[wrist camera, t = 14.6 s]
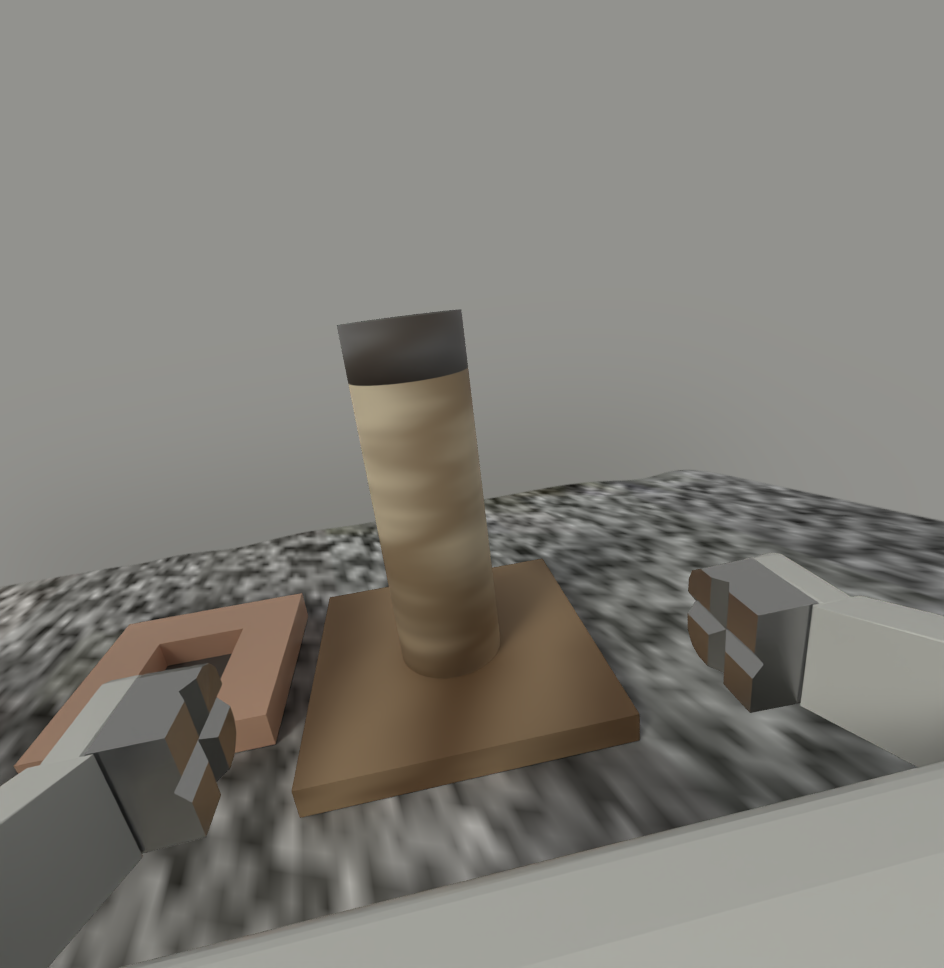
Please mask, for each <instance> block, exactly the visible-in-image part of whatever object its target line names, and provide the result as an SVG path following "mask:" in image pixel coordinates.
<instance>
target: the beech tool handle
mask: <svg viewBox="0 0 944 968" xmlns="http://www.w3.org/2000/svg"><path fill="white" fill-rule="evenodd" d="M337 329H338V334H339V339H340V343H341V349H342V354H343V359H344V364H345V369H346V374H347V378H348V384H349V389H350V394H351V399H352V404H353V409H354V414H355V419H356V424H357V429H358V434H359V439H360V444H361V449H362V454H363V459H364V464H365V469H366V474H367V479H368V484H369V489H370V494H371V499H372V504H373V509H374V514H375V519H376V524H377V529H378V534H379V539H380V544H381V549H382V554H383V559H384V564H385V570H386V575H387V580H388V585H389V590H390V595H391V600H392V605H393V610H394V615H395V620H396V625H397V630H398V635H399V640H400V645H401V650H402V655H403V659H404V661H405V663H406V665H407V666H408V667H409V668H410V669H411V670H413V671H414V672H416V673H418V674H420V675H423V676H426V677H431V678H454V677H459V676H463V675H466V674H469V673H472V672H474V671H476V670H478V669H480V668H482V667H483V666H485V665H486V664H487V663H488V662H489V661H491V660H492V659H493V657H494V656H495V655H496V653H497V651H498V649H499V647H500V632H499V624H498V615H497V607H496V599H495V590H494V582H493V573H492V565H491V556H490V548H489V540H488V531H487V523H486V514H485V506H484V498H483V489H482V481H481V472H480V464H479V456H478V447H477V439H476V431H475V422H474V413H473V405H472V397H471V389H470V380H469V371H468V363H467V355H466V347H465V338H464V329H463V321H462V313H461V310H449V311H440V312H431V313H423V314H414V315H406V316H398V317H391V318H384V319H376V320H368V321H361V322H355V323H348V324H341V325H337Z"/></svg>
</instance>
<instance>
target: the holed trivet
mask: <svg viewBox="0 0 944 968" xmlns="http://www.w3.org/2000/svg"><path fill="white" fill-rule="evenodd" d="M307 619H308V614H307V610H306V606H305V602H304V599H303V595H302V593H300V594H295V595H289V596H284V597H278V598H273V599H267V600H262V601H256V602H251V603H245V604H240V605H234V606H229V607H223V608H218V609H212V610H207V611H201V612H195V613H190V614H184V615H179V616H173V617H168V618H162V619H157V620H151V621H146V622H140V623H135V624H129V626H128V627H127V628H126V629H125V631H124V632H123V633H122V634H121V635H120V637H119V638H118V639H117V640H116V642H115V643H114V644H113V645H112V646H111V648H110V649H109V650H108V651H107V653H106V654H105V655H104V656H103V658H102V659H101V660H100V661H99V662H98V664H97V665H96V666H95V667H94V669H93V670H92V671H91V672H90V673H89V675H88V676H87V677H86V678H85V680H84V681H83V682H82V683H81V684H80V686H79V687H78V688H77V689H76V691H75V692H74V693H73V694H72V695H71V697H70V698H69V699H68V700H67V702H66V703H65V704H64V705H63V707H62V708H61V709H60V710H59V711H58V713H57V714H56V715H55V716H54V718H53V719H52V720H51V721H50V722H49V724H48V725H47V726H46V727H45V729H44V730H43V731H42V732H41V733H40V735H39V736H38V737H37V738H36V740H35V741H34V742H33V743H32V744H31V746H30V747H29V748H28V749H27V751H26V752H25V753H24V754H23V756H22V757H21V758H20V759H19V760H18V762H17V763H16V764H15V765H14V767H15V769H16V771H17V773H18V774H19V773H21V772H22V771H23V770H25V769H26V768H29V767H34V766H38V765H40V764H41V763H42V761H43V760H44V759H45V758H46V756H47V755H48V754H49V752H50V751H51V750H52V748H53V747H54V746H55V745H56V743H57V742H58V741H59V739H60V738H61V737H62V736H63V734H64V733H65V732H66V730H67V729H68V728H69V726H70V725H71V724H72V723H73V721H74V720H75V719H76V717H77V716H78V715H79V713H80V712H81V711H82V710H83V708H84V707H85V706H86V704H87V703H88V702H89V701H90V699H91V698H92V697H93V695H94V694H95V693H96V691H97V690H98V689H99V688H100V686H101V685H102V684H105V683H107V682H109V681H111V680H116V679H121V678H126V677H131V676H136V675H144V674H148V673H154V672H159V671H165V670H171V669H177V668H183V667H188V666H194V665H200V664H206V663H209V664H211V665H213V666H215V667H216V669H217V672H218V674H219V677H220V679H221V682H222V686H221V688H220V691H219V693H218V695H217V698H219V699H220V700H222V701H223V702H225V703H226V704H228V705H229V706H230V707H231V710H232V713H233V716H234V719H235V726H236V733H237V734H236V746H235V753H236V752H241V751H245V750H250V749H255V748H260V747H264V746H269V745H274V744H276V740H277V736H278V732H279V728H280V724H281V720H282V717H283V713H284V709H285V705H286V701H287V697H288V693H289V689H290V685H291V681H292V677H293V674H294V670H295V666H296V662H297V658H298V654H299V650H300V646H301V642H302V638H303V635H304V631H305V627H306V623H307Z"/></svg>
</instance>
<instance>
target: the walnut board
mask: <svg viewBox="0 0 944 968" xmlns="http://www.w3.org/2000/svg"><path fill="white" fill-rule="evenodd" d="M492 573H493V582H494V590H495V599H496V607H497V615H498V624H499V632H500V647H499V649H498V651H497V653H496V655H495V656H494V657H493V659H492V660H491V661H489V662H488V663H487V664H486V665H485V666H483V667H482V668H480V669H478V670H476V671H474V672H472V673H469V674H466V675H463V676H459V677H454V678H431V677H426V676H423V675H420V674H418V673H416V672H414V671H413V670H411V669H410V668H409V667H408V666H407V665H406V663H405V661H404V659H403V655H402V650H401V645H400V640H399V635H398V630H397V625H396V620H395V615H394V610H393V605H392V600H391V595H390V590H389V587H385V588H379V589H374V590H368V591H363V592H357V593H352V594H347V595H341V596H336V597H330V599H329V604H328V609H327V614H326V620H325V625H324V630H323V635H322V640H321V645H320V650H319V655H318V660H317V665H316V670H315V675H314V680H313V685H312V690H311V696H310V701H309V706H308V711H307V716H306V721H305V726H304V731H303V736H302V741H301V746H300V751H299V756H298V761H297V766H296V772H295V777H294V782H293V787H292V794H293V797H294V801H295V804H296V807H297V810H298V813H299V816H300V818H301V817H305V816H310V815H314V814H318V813H323V812H327V811H332V810H336V809H340V808H345V807H349V806H353V805H358V804H362V803H367V802H371V801H375V800H380V799H384V798H389V797H393V796H397V795H402V794H406V793H410V792H415V791H419V790H424V789H428V788H432V787H437V786H441V785H445V784H450V783H454V782H459V781H463V780H467V779H472V778H476V777H481V776H485V775H489V774H494V773H498V772H502V771H507V770H511V769H516V768H520V767H524V766H529V765H533V764H537V763H542V762H546V761H551V760H555V759H559V758H564V757H568V756H573V755H577V754H581V753H586V752H590V751H594V750H599V749H603V748H608V747H612V746H616V745H621V744H625V743H629V742H634V741H638V740H640V720H639V713H638V711H637V709H636V708H635V706H634V705H633V703H632V701H631V700H630V698H629V697H628V695H627V693H626V692H625V690H624V689H623V687H622V685H621V684H620V682H619V681H618V679H617V677H616V676H615V674H614V673H613V671H612V669H611V668H610V666H609V665H608V663H607V661H606V660H605V658H604V656H603V655H602V653H601V652H600V650H599V648H598V647H597V645H596V644H595V642H594V640H593V639H592V637H591V636H590V634H589V632H588V631H587V629H586V628H585V626H584V624H583V623H582V621H581V620H580V618H579V616H578V615H577V613H576V612H575V610H574V608H573V607H572V605H571V604H570V602H569V600H568V599H567V597H566V596H565V594H564V592H563V591H562V589H561V588H560V586H559V584H558V583H557V581H556V580H555V578H554V576H553V575H552V573H551V572H550V570H549V568H548V567H547V565H546V564H545V562H544V560H543V559H537V560H532V561H526V562H521V563H515V564H510V565H505V566H499V567H494V568H492Z"/></svg>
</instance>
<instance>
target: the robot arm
mask: <svg viewBox="0 0 944 968" xmlns="http://www.w3.org/2000/svg"><path fill="white" fill-rule="evenodd" d="M688 592H689V593H690V594H691V595H692V596H693V598H694V599H695V600H696V602H695V603H694V605H693V606H692V608H691V609H690V611H689V612H688V632H689V635H690V638H691V642H692V645H693V647H694V649H695V650H696V652H697V654H698V656H699V657H700V658H701V659H702V660H703V661H704V663H705V664H706V665H707V666H709V667H711V668H713V669H716V670H718V671H720V672H723V673H724V685H725V686H726V687H727V688H728V689H729V690H730V692H731V693H732V694H733V695H734V696H735V697H736V698H737V699H738V700H739V701H740V703H741V704H742V705H743V706H744V707H745V708H746V709H747V710H748V711H749V712H750V713H752V712H757V711H762V710H767V709H772V708H778V707H783V706H788V705H793V704H798V703H801V704H800V706H802V707H804V708H806V709H808V710H810V711H811V712H813V713H815V714H817V715H819V716H821V717H823V718H825V719H827V720H829V721H831V722H832V723H834V724H836V725H838V726H840V727H842V728H844V729H846V730H848V731H850V732H852V733H853V734H855V735H857V736H859V737H861V738H863V739H865V740H867V741H869V742H871V743H873V744H874V745H876V746H878V747H880V748H882V749H884V750H886V751H888V752H890V753H892V754H894V755H895V756H897V757H899V758H901V759H903V760H905V761H907V762H909V763H911V764H913V765H915V766H917V767H918V768H914V769H910V770H906V771H902V772H898V773H894V774H890V775H886V776H882V777H878V778H874V779H870V780H866V781H862V782H858V783H854V784H850V785H846V786H842V787H838V788H834V789H830V790H826V791H822V792H818V793H814V794H810V795H806V796H802V797H798V798H794V799H790V800H786V801H782V802H778V803H774V804H770V805H766V806H762V807H758V808H754V809H750V810H746V811H742V812H738V813H734V814H730V815H726V816H722V817H718V818H714V819H710V820H706V821H702V822H698V823H694V824H690V825H686V826H682V827H678V828H674V829H670V830H666V831H662V832H658V833H654V834H650V835H646V836H642V837H638V838H634V839H630V840H626V841H622V842H618V843H614V844H610V845H606V846H602V847H598V848H594V849H590V850H586V851H582V852H578V853H574V854H570V855H566V856H562V857H558V858H554V859H550V860H546V861H542V862H538V863H534V864H530V865H527V866H523V867H519V868H515V869H511V870H507V871H503V872H499V873H495V874H491V875H487V876H483V877H479V878H475V879H471V880H467V881H463V882H459V883H455V884H451V885H447V886H443V887H439V888H435V889H431V890H427V891H423V892H419V893H415V894H411V895H407V896H403V897H399V898H395V899H391V900H387V901H383V902H379V903H375V904H371V905H367V906H363V907H359V908H355V909H351V910H347V911H343V912H339V913H335V914H331V915H327V916H323V917H319V918H315V919H311V920H307V921H303V922H299V923H295V924H291V925H287V926H283V927H279V928H275V929H271V930H267V931H263V932H259V933H255V934H251V935H247V936H243V937H239V938H235V939H231V940H227V941H224V942H220V943H216V944H212V945H208V946H204V947H200V948H196V949H192V950H188V951H184V952H180V953H176V954H172V955H168V956H164V957H160V958H156V959H152V960H148V961H144V962H140V963H136V964H132V965H128V966H124V967H120V968H944V616H942V615H938V614H934V613H930V612H926V611H922V610H918V609H913V608H909V607H905V606H901V605H897V604H893V603H889V602H885V601H881V600H877V599H873V598H868V597H864V596H855V597H850V596H849V595H847V594H846V593H844V592H842V591H841V590H839V589H837V588H836V587H834V586H833V585H831V584H829V583H828V582H826V581H824V580H823V579H821V578H819V577H818V576H816V575H815V574H813V573H811V572H810V571H808V570H806V569H805V568H803V567H801V566H800V565H798V564H797V563H795V562H793V561H792V560H790V559H788V558H787V557H785V556H783V555H782V554H778V553H767V554H763V555H759V556H754V557H750V558H746V559H743V560H738V561H734V562H729V563H724V564H720V565H715V566H710V567H706V568H701V569H696V570H692V572H691V575H690V577H689V587H688ZM221 686H222V682H221V679H220V677H219V674H218V672H217V669H216V667H215V666H213V665H211V664H209V663H206V664H200V665H194V666H188V667H183V668H177V669H171V670H165V671H159V672H154V673H148V674H144V675H136V676H131V677H126V678H121V679H116V680H111V681H109V682H107V683H105V684H102V685H101V686H100V688H99V689H98V690H97V691H96V693H95V694H94V695H93V697H92V698H91V699H90V701H89V702H88V703H87V704H86V706H85V707H84V708H83V710H82V711H81V712H80V713H79V715H78V716H77V717H76V719H75V720H74V721H73V723H72V724H71V725H70V726H69V728H68V729H67V730H66V732H65V733H64V734H63V736H62V737H61V738H60V739H59V741H58V742H57V743H56V745H55V746H54V747H53V748H52V750H51V751H50V752H49V754H48V755H47V756H46V758H45V759H44V760H43V761H42V763H41V764H40V765H38V766H34V767H29V768H26V769H25V770H23V771H22V772H21V773H19V774H18V775H16V776H15V777H13V778H12V779H10V780H9V781H7V782H6V783H5V784H3V785H2V786H0V968H48V967H49V966H50V964H51V963H52V962H53V961H54V960H55V959H56V957H57V956H58V955H59V954H60V953H61V952H62V950H63V949H64V948H65V947H66V946H67V945H68V944H69V942H70V941H71V940H72V939H73V938H74V937H75V935H76V934H77V933H78V932H79V931H80V930H81V928H82V927H83V926H84V925H85V924H86V923H87V921H88V920H89V919H90V918H91V917H92V916H93V914H94V913H95V912H96V911H97V910H98V909H99V907H100V906H101V905H102V904H103V903H104V902H105V900H106V899H107V898H108V897H109V896H110V895H111V894H112V892H113V891H114V890H115V889H116V888H117V887H118V885H119V884H120V883H121V882H122V881H123V880H124V878H125V877H126V876H127V875H128V874H129V873H130V871H131V870H132V869H133V868H134V867H135V866H136V864H137V863H138V862H139V861H140V860H141V859H142V857H143V855H142V854H143V853H147V852H151V851H155V850H158V849H162V848H166V847H170V846H174V845H178V844H182V843H186V842H189V841H193V840H197V839H201V838H205V837H206V836H207V834H208V831H209V828H210V825H211V822H212V819H213V816H214V813H215V811H216V808H217V805H218V802H219V799H220V796H221V794H220V791H219V788H218V786H217V783H216V782H217V781H218V780H219V779H220V778H221V777H222V776H223V775H224V774H225V773H226V772H227V771H228V770H229V769H230V767H231V764H232V761H233V757H234V754H235V746H236V734H237V733H236V726H235V719H234V716H233V713H232V710H231V707H230V706H229V705H228V704H226V703H225V702H223V701H222V700H220V699H219V698H217V695H218V693H219V691H220V688H221Z"/></svg>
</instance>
